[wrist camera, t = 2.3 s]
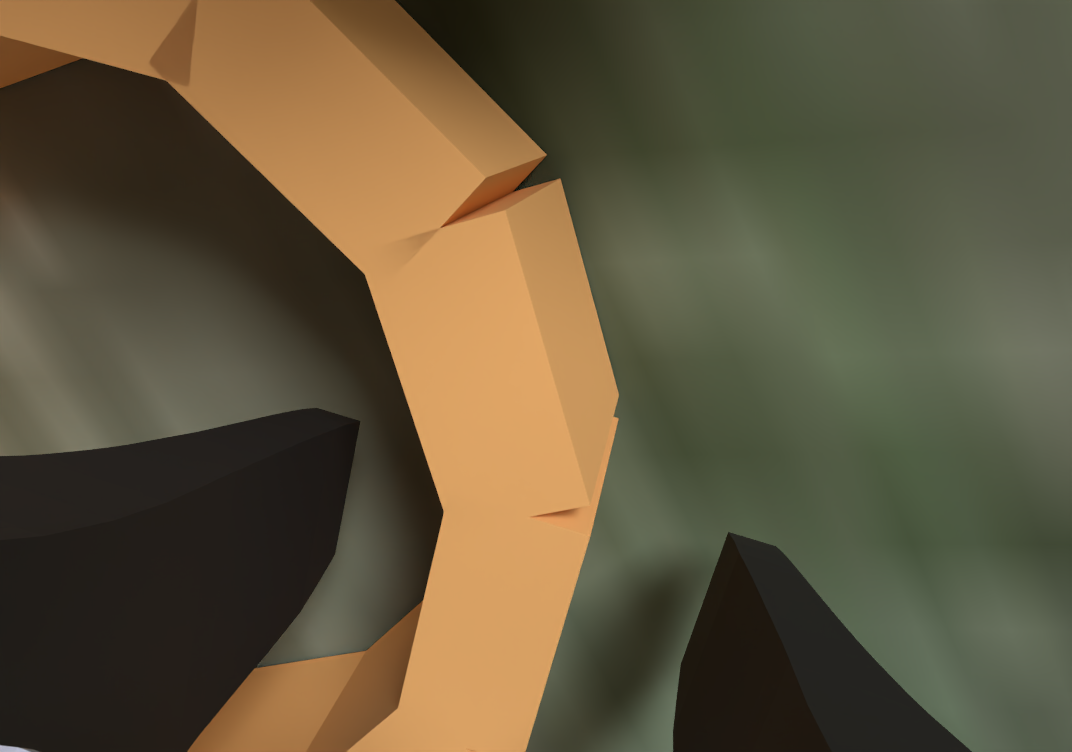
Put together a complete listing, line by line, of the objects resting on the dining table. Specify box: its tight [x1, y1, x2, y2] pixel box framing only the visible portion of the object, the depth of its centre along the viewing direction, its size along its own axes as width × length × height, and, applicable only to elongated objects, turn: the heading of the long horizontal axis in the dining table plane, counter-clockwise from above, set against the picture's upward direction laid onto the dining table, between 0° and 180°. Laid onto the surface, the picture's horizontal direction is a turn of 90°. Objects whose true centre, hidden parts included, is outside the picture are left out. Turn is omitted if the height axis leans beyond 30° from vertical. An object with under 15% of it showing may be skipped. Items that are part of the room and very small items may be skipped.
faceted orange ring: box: [0, 0, 619, 752], centre depth 12 cm, size 12×12×4 cm
